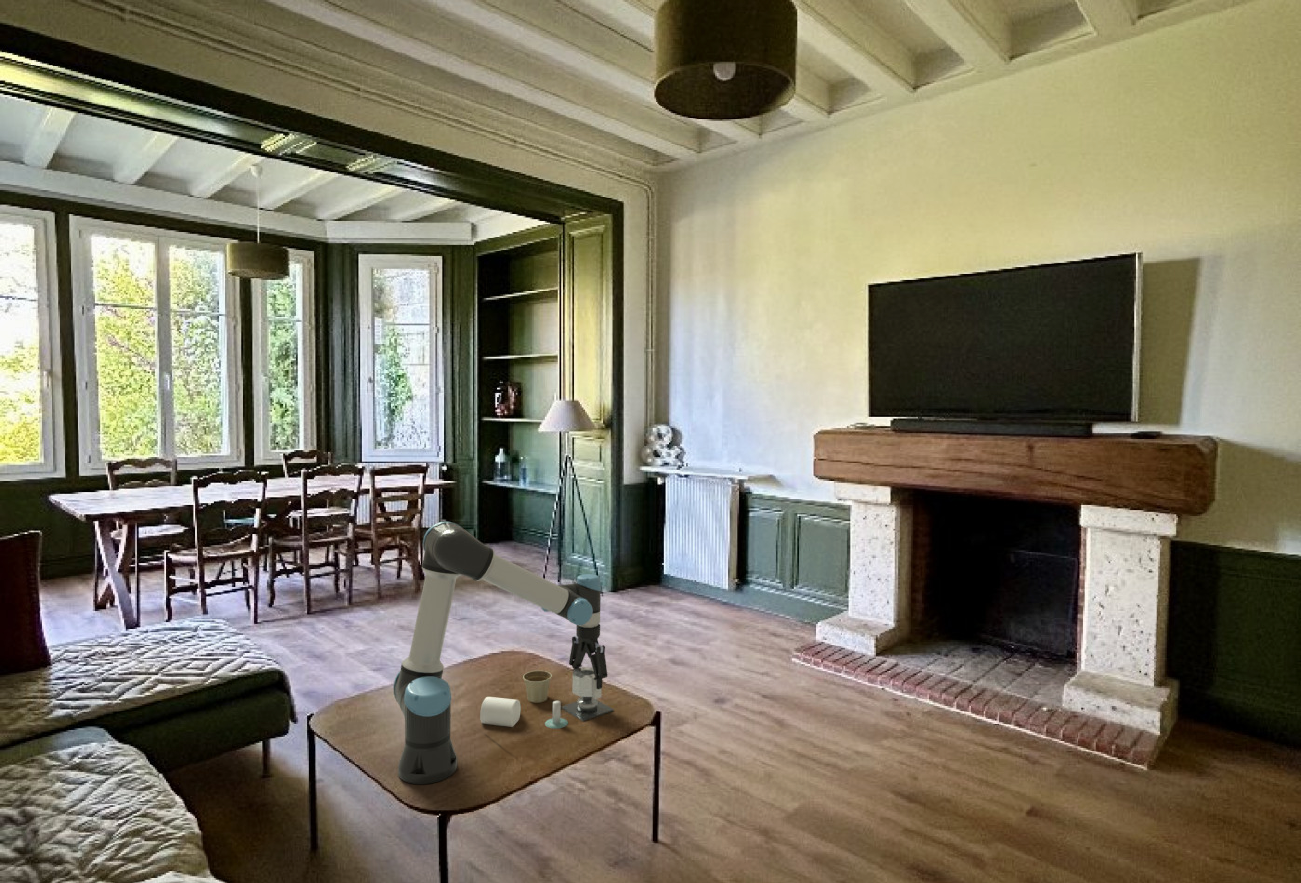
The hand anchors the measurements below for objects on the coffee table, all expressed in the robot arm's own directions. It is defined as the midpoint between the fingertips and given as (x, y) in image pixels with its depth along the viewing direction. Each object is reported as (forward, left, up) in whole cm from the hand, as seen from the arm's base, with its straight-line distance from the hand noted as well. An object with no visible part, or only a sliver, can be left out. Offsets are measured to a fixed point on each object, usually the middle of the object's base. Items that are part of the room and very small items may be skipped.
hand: (587, 693), depth 231 cm
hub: (0, 0, -6) cm, 6 cm away
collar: (0, 0, +1) cm, 1 cm away
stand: (-13, -2, -6) cm, 15 cm away
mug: (-24, +11, -7) cm, 27 cm away
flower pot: (-8, +17, -7) cm, 20 cm away
